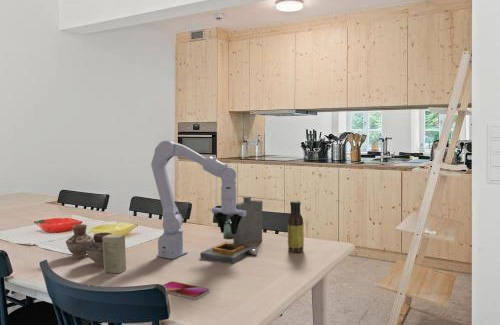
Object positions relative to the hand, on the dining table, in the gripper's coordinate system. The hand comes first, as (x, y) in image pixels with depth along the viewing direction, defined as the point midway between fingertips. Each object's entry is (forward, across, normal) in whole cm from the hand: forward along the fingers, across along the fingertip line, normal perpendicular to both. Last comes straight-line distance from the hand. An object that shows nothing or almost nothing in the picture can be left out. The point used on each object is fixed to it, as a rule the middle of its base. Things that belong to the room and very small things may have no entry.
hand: (228, 233), depth 156 cm
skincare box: (+9, +24, +35) cm, 43 cm away
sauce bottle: (+9, -21, -17) cm, 28 cm away
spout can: (+2, 0, 0) cm, 2 cm away
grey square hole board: (+8, -1, 0) cm, 9 cm away
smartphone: (+9, -7, +38) cm, 40 cm away
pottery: (+9, +41, +30) cm, 52 cm away
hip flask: (+9, +2, -19) cm, 21 cm away
